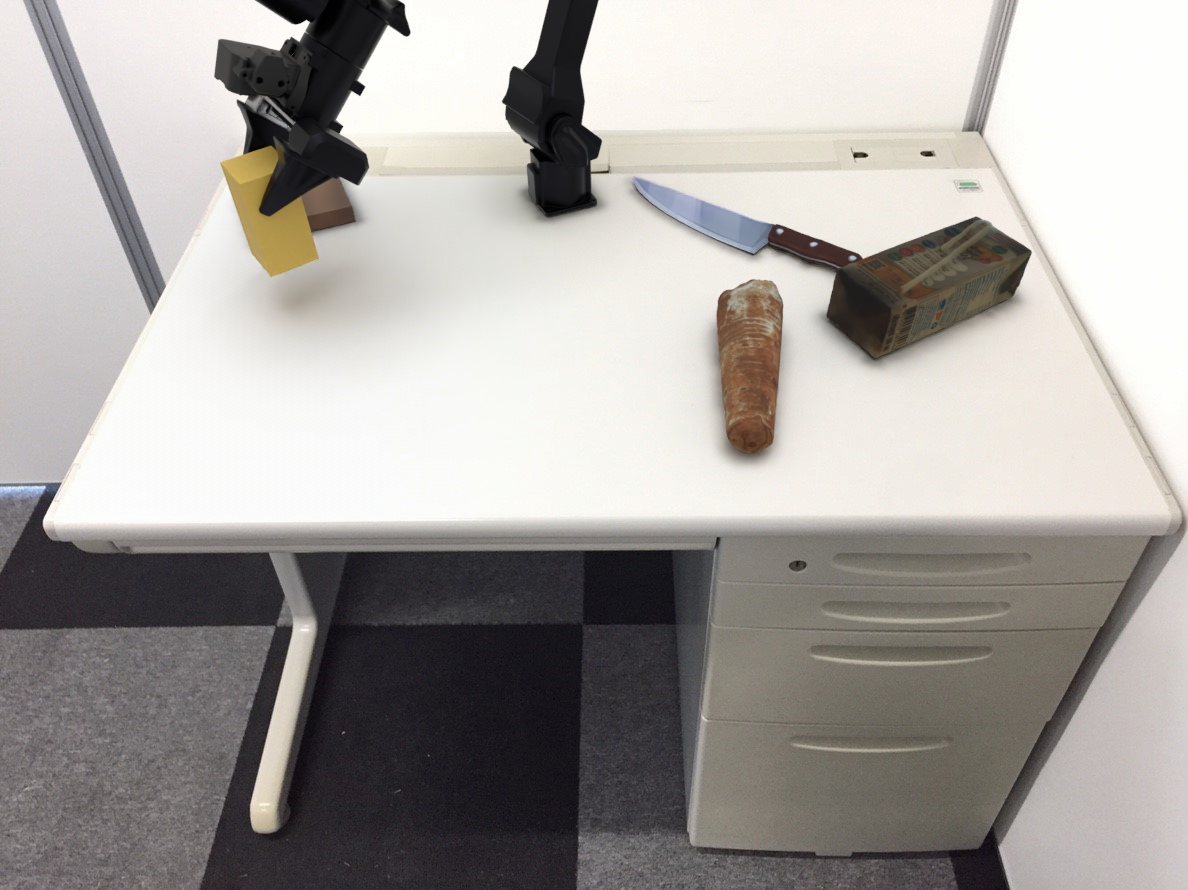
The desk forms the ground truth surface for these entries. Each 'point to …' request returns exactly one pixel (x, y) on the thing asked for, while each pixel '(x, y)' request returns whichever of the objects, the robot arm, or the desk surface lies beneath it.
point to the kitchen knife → (742, 227)
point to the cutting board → (327, 205)
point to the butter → (269, 237)
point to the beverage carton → (926, 284)
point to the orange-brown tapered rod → (750, 361)
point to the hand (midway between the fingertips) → (252, 202)
